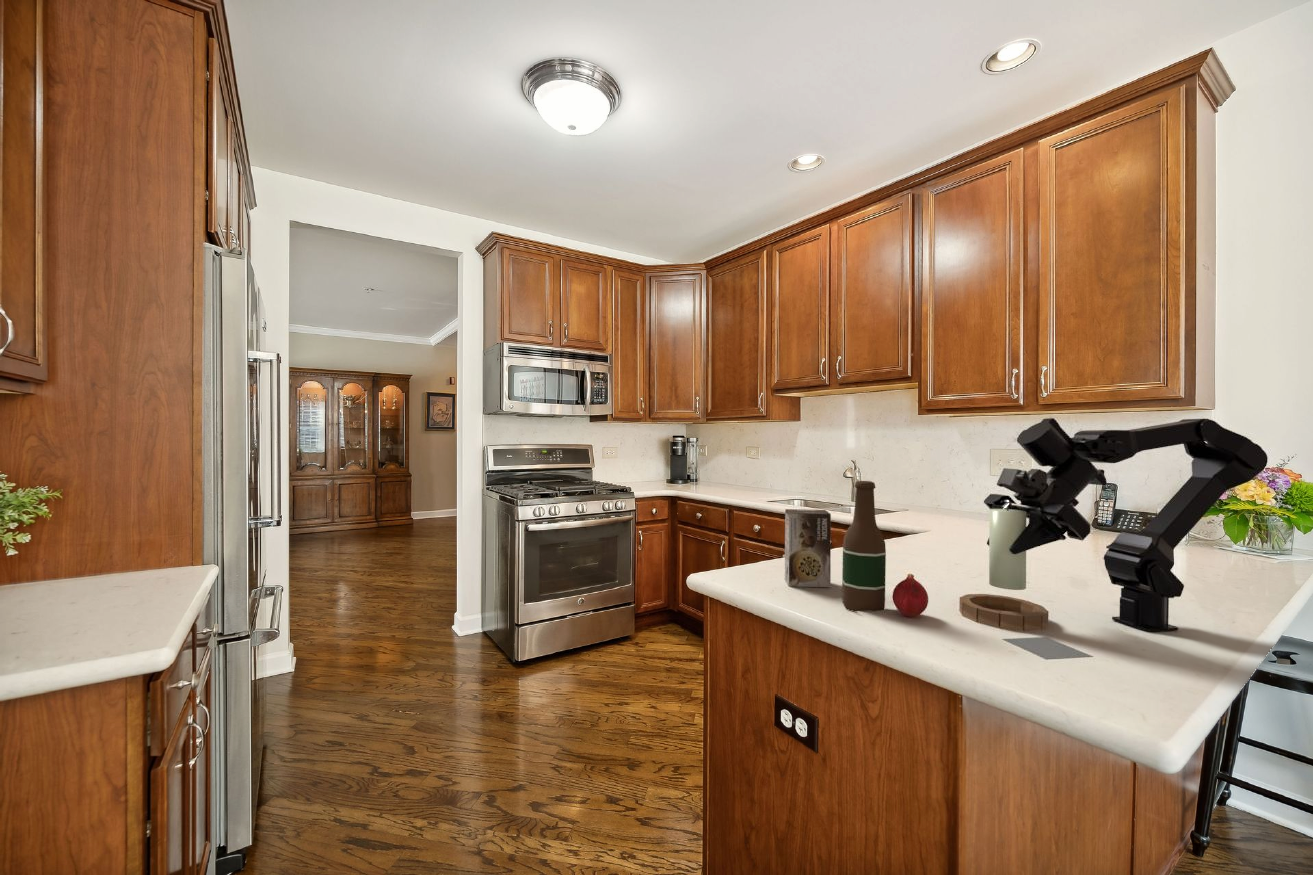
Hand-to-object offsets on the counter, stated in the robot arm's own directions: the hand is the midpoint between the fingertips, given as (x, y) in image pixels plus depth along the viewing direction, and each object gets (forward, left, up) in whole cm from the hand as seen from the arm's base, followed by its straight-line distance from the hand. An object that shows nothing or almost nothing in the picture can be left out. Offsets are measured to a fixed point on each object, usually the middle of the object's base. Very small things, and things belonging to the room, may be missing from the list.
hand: (999, 548), depth 95 cm
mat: (+2, +11, -13) cm, 18 cm away
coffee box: (+21, -30, -14) cm, 39 cm away
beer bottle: (+18, -12, -14) cm, 26 cm away
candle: (-1, 0, -6) cm, 7 cm away
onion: (+13, -5, -13) cm, 20 cm away
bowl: (-3, -2, -13) cm, 14 cm away
